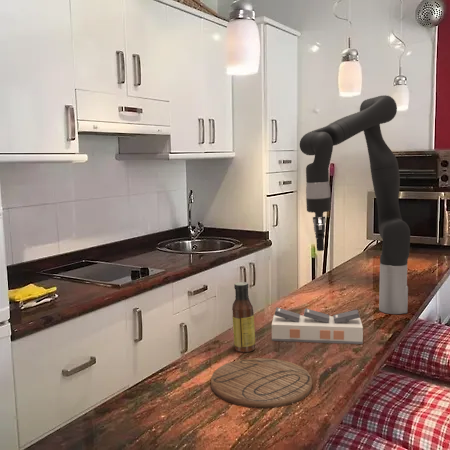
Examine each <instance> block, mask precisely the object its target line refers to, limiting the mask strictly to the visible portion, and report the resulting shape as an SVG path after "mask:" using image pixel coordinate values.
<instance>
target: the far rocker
mask: <svg viewBox="0 0 450 450" xmlns="http://www.w3.org/2000/svg"><path fill="white" fill-rule="evenodd" d="M274 315H276V316H279V317H282V318H285V320H288V319H289V320H292V321H295V322H299V318H300V315H301V314H300V313H298V312H293V311H290V310H288V309H283V308H280V307H278V306H277V307H276V308H275V310H274Z"/></svg>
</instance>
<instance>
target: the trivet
mask: <svg viewBox="0 0 450 450" xmlns="http://www.w3.org/2000/svg"><path fill="white" fill-rule="evenodd" d="M210 385H211V390H212V392H214V394H215V395H216V396H217V397H219V398H220V399H221V400H223V401H225V402H228V403H231V404H233V405H236V406H242V407H246V408H258V409H259V408H260V409H267V408H279V407H285V406H288V405H291V404H294V403H297V402H299V401H301V400H303V399H304V398H306V397H307V396H308V395H309V394H310V392H311V391H312V386H313V385H312V376H311V374H310V373H309V371H308V370H307V369H305V368H303V366H301V365H298V364H296V363H294V362H291V361H286V360H284V359H283V360H282V359H279V358H278V359H277V358H269V357H268V358H267V357H265V358H264V357H256V358H255V357H253V358H244V359H237V360H234V361H230V362H228V363H227V362H226V363H225V364H223V365H221V366H219V367H217V369H216V370H215V371H213V372H212V374H211V378H210Z"/></svg>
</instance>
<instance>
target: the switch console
mask: <svg viewBox="0 0 450 450" xmlns="http://www.w3.org/2000/svg"><path fill="white" fill-rule="evenodd" d="M363 333H364V327H363V323H362V320H361V317H360V318H357V319H352V320H349V321H348V322H346V321H344V322H339V323H335V322H334V317H333V316H331V315H329V322H328V323H326V322H322V321H319V320H317V321H315V320H314V319H312V318H308V317H305V316H304V314H303V315H301V314H300V318H299V322H295V321H292V320H289V319H288V320H285V318H282V317H279V316H276V315H275V314H273V317H272V322H271V341H272V342H274V341H275V342H290V343H291V342H292V343H294V342H298V343H323V344H349V345H353V344H354V345H363V341H364V339H363V337H364V334H363Z"/></svg>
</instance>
